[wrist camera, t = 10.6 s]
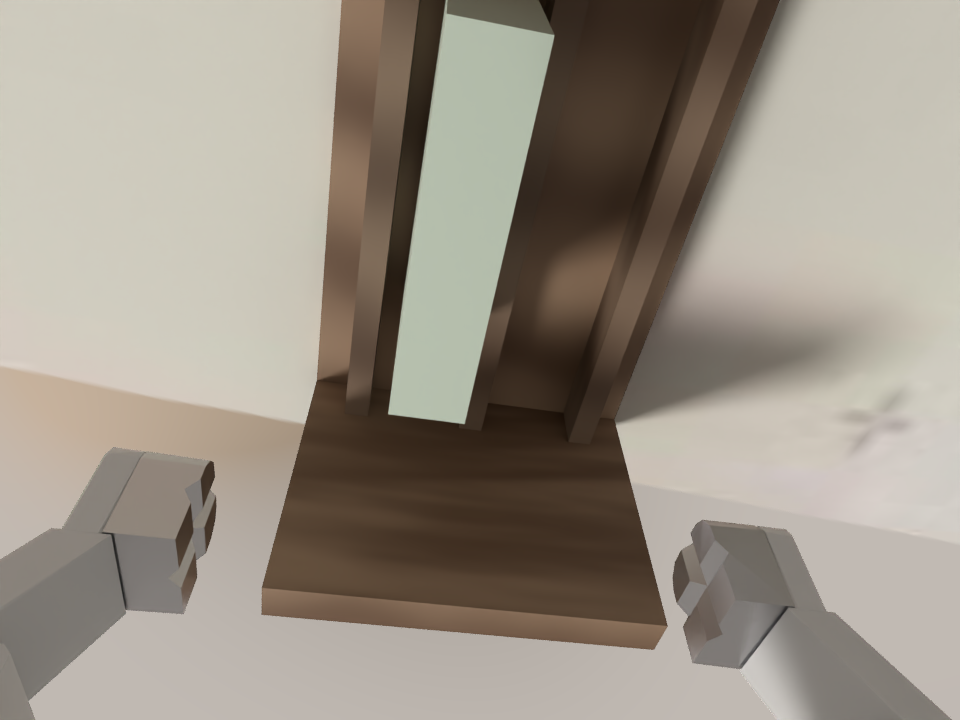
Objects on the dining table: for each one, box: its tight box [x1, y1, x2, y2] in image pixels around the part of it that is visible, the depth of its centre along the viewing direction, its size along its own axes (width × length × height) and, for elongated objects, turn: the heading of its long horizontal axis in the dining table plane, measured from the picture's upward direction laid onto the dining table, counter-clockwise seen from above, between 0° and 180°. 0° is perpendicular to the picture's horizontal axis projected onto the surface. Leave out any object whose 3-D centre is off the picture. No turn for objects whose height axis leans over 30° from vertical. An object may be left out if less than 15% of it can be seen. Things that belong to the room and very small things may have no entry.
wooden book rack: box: [262, 0, 780, 650], centre depth 22 cm, size 26×14×12 cm, turn 169°
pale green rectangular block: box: [388, 0, 555, 424], centre depth 23 cm, size 12×2×8 cm, turn 169°
